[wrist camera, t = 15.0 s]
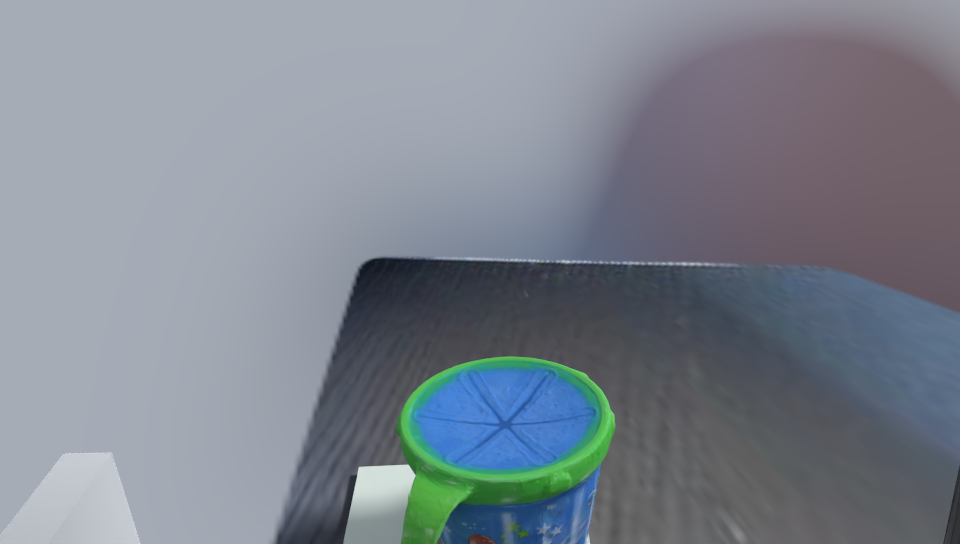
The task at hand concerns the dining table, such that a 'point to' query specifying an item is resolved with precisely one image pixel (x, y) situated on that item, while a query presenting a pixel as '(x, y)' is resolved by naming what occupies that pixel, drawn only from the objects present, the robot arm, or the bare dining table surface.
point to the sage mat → (380, 505)
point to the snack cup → (504, 453)
